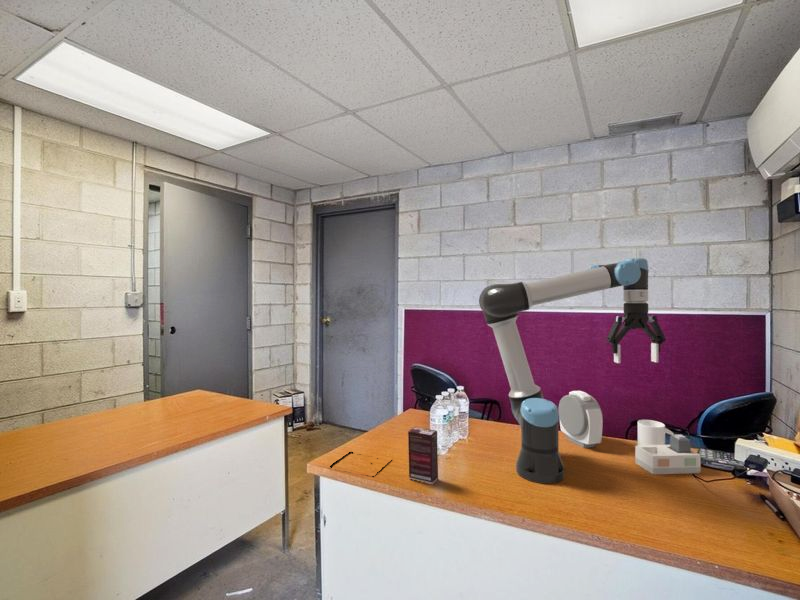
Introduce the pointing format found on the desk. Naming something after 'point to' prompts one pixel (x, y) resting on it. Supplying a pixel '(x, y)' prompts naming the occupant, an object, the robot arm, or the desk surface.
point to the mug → (652, 432)
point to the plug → (680, 444)
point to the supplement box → (423, 455)
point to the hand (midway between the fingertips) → (636, 362)
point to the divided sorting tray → (666, 460)
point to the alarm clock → (581, 419)
